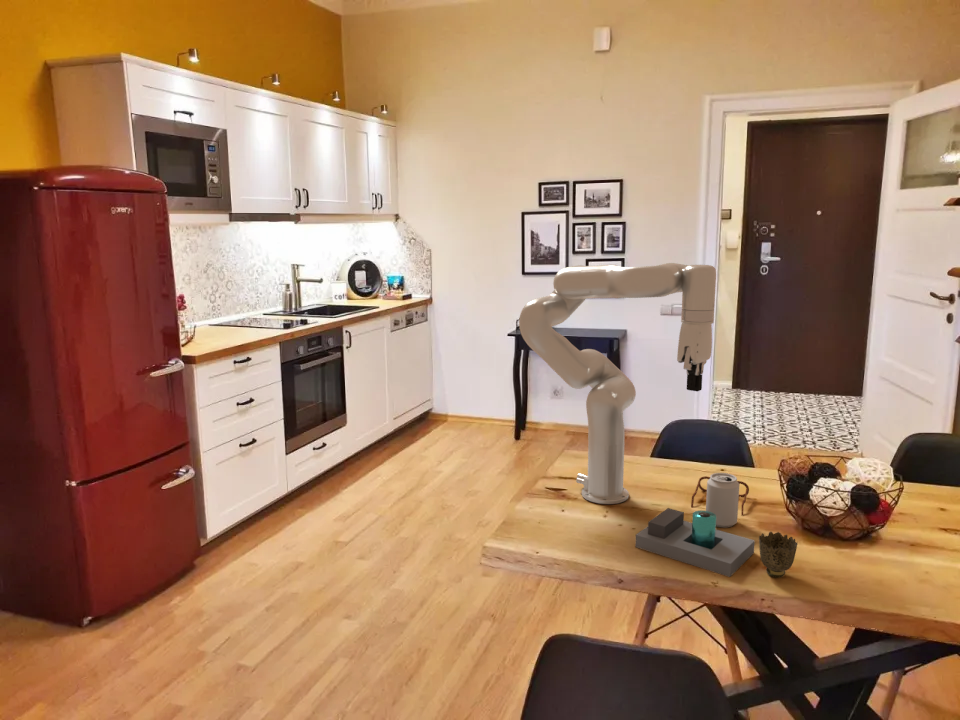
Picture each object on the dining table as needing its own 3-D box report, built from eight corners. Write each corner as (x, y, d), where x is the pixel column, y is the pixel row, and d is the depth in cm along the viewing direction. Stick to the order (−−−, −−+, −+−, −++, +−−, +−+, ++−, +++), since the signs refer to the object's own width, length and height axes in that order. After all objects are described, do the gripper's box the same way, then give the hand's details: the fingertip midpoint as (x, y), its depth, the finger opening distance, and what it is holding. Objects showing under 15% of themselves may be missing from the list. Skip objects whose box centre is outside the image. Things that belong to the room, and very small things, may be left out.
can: (739, 530, 170) (742, 483, 168) (706, 527, 172) (709, 481, 169) (734, 517, 177) (737, 471, 175) (703, 515, 179) (706, 470, 176)
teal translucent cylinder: (687, 553, 159) (689, 515, 157) (696, 545, 163) (698, 508, 161) (708, 559, 156) (710, 521, 154) (717, 551, 159) (719, 513, 158)
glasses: (748, 498, 190) (749, 481, 189) (743, 517, 178) (744, 498, 177) (698, 491, 195) (698, 474, 194) (689, 508, 184) (690, 490, 183)
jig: (635, 546, 162) (636, 522, 161) (663, 526, 173) (664, 503, 171) (729, 577, 148) (731, 550, 147) (753, 552, 159) (755, 527, 157)
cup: (772, 585, 144) (774, 549, 143) (749, 569, 151) (751, 534, 150) (802, 580, 147) (805, 544, 145) (778, 564, 153) (781, 529, 152)
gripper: (695, 311, 179) (692, 382, 183) (669, 318, 168) (666, 393, 171) (724, 314, 174) (720, 386, 178) (699, 321, 163) (695, 398, 167)
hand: (694, 389), depth 175 cm, fingers closed
